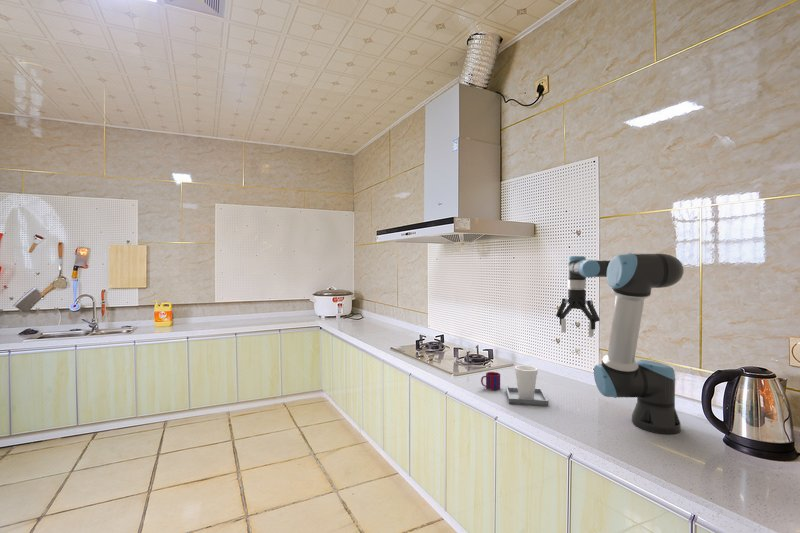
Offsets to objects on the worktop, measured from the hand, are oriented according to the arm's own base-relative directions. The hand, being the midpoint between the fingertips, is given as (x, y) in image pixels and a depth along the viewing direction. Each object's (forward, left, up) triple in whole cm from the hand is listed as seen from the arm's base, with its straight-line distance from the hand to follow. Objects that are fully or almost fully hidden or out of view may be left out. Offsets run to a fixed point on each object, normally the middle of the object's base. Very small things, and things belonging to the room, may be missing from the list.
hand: (576, 334), depth 182 cm
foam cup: (-14, +25, -26) cm, 39 cm away
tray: (-14, +25, -27) cm, 39 cm away
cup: (-2, +40, -27) cm, 48 cm away
